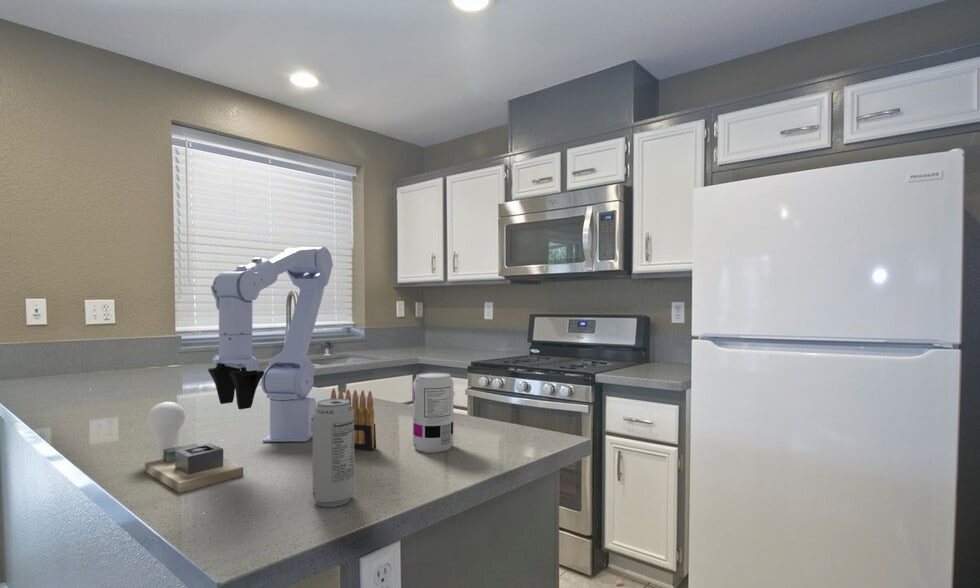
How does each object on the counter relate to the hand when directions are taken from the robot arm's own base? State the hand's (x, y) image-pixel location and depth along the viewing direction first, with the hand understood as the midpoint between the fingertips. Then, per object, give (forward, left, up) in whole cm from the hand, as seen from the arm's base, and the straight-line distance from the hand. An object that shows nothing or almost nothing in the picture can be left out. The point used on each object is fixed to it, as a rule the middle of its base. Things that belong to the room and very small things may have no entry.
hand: (235, 405), depth 96 cm
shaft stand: (+4, +7, -10) cm, 13 cm away
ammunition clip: (-20, -8, -11) cm, 24 cm away
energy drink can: (-24, +20, -11) cm, 33 cm away
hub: (+2, +8, -9) cm, 12 cm away
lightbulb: (+14, -1, -11) cm, 17 cm away
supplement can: (-37, -7, -11) cm, 39 cm away
